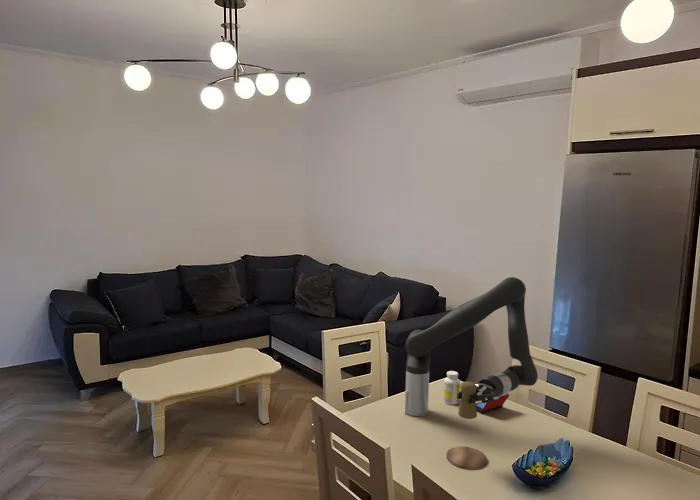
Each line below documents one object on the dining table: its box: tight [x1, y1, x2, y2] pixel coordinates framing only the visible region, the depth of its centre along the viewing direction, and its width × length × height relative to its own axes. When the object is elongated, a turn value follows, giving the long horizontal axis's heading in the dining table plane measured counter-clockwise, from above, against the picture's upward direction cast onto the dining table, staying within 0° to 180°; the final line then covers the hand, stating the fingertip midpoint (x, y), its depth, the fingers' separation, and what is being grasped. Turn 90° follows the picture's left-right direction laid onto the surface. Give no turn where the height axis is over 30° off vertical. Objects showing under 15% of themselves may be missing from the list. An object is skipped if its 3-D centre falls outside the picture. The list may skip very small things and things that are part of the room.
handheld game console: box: [476, 393, 510, 415], centre depth 203 cm, size 12×11×7 cm
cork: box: [457, 381, 478, 420], centre depth 163 cm, size 6×6×11 cm
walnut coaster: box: [446, 446, 487, 470], centre depth 165 cm, size 13×13×1 cm
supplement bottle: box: [443, 370, 461, 405], centre depth 210 cm, size 7×7×13 cm
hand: (463, 398), depth 161 cm, fingers closed on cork, 3 cm apart
